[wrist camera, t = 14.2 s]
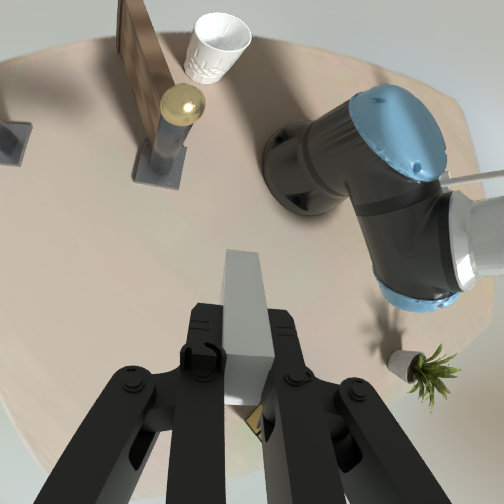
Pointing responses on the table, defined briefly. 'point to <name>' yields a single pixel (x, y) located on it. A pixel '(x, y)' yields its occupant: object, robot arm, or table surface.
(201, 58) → the white cup
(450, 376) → the house plant
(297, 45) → the table surface
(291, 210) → the robot arm
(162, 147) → the gate posts
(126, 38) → the panel
